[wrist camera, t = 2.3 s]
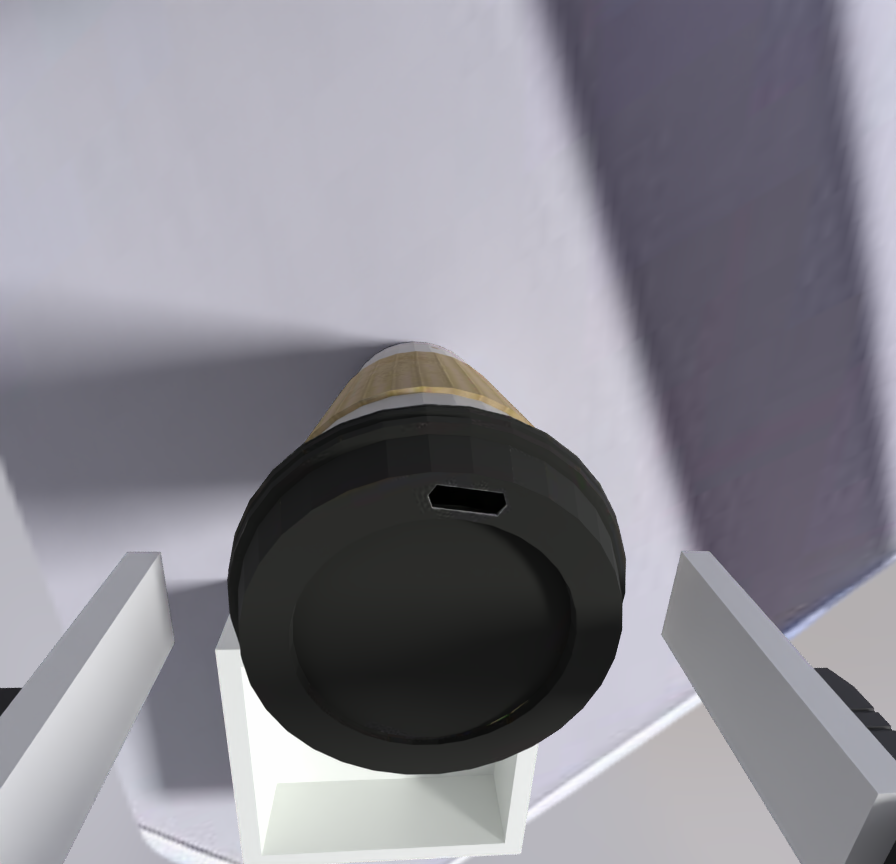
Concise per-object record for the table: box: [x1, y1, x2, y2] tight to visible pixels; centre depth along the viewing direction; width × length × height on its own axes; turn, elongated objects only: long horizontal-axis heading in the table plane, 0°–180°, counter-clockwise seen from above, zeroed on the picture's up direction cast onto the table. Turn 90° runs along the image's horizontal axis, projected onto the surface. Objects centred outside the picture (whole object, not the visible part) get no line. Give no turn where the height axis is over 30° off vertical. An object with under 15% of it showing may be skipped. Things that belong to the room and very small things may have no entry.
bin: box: [215, 614, 539, 864], centre depth 30 cm, size 15×15×5 cm
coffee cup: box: [227, 342, 626, 775], centre depth 19 cm, size 10×10×15 cm
